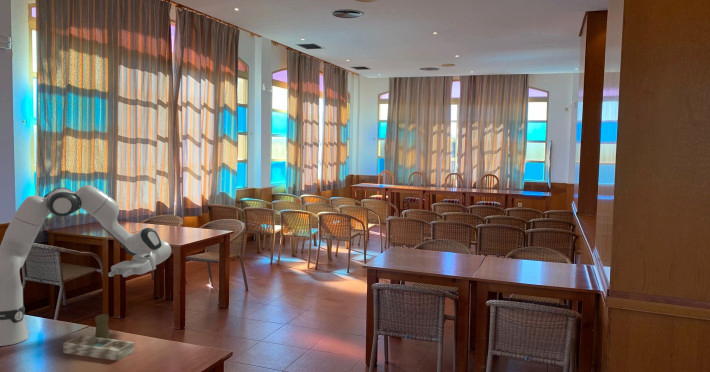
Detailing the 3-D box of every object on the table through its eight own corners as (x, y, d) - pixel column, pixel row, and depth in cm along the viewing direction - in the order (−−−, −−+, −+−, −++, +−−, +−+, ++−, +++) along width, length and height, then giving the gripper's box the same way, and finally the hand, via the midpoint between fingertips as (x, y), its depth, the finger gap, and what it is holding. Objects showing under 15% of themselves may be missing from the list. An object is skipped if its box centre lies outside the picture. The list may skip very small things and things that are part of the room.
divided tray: (63, 352, 204) (63, 343, 203) (81, 344, 212) (80, 335, 212) (118, 360, 197) (118, 350, 197) (134, 351, 206) (134, 342, 206)
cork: (103, 343, 214) (103, 317, 214) (91, 341, 216) (90, 316, 215) (113, 338, 220) (112, 313, 220) (100, 336, 222) (100, 312, 221)
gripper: (124, 256, 238) (99, 268, 227) (154, 256, 229) (129, 268, 217) (128, 268, 240) (103, 281, 228) (158, 268, 230) (134, 282, 218)
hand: (116, 275), depth 222 cm, fingers open, 8 cm apart
